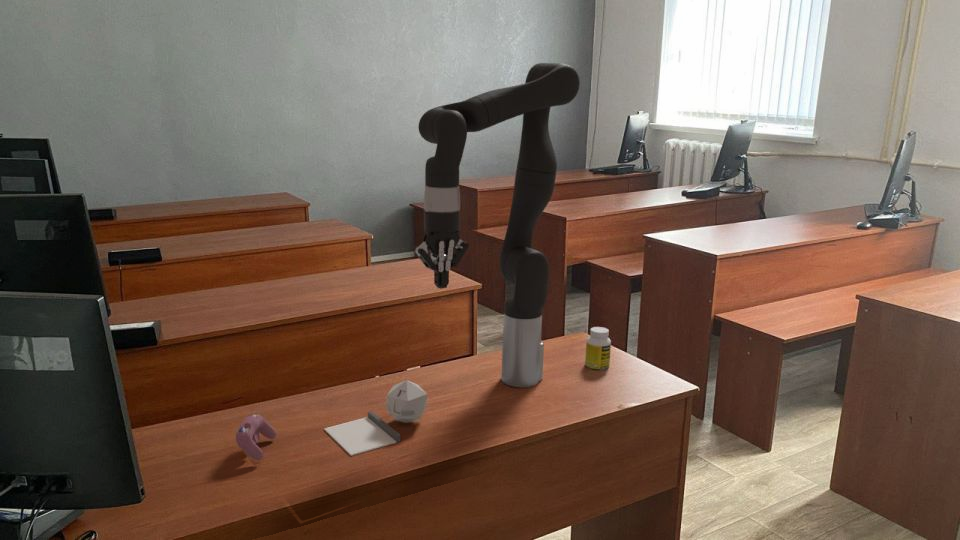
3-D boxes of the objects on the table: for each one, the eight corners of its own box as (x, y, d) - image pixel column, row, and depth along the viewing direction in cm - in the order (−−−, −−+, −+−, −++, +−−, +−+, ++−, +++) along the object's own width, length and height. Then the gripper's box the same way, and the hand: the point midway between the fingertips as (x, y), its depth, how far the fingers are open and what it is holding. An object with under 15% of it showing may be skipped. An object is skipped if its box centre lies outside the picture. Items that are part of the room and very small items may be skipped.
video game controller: (257, 440, 147) (246, 410, 145) (278, 436, 146) (267, 405, 145) (240, 466, 137) (228, 433, 135) (263, 460, 137) (250, 428, 135)
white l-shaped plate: (371, 417, 157) (371, 410, 156) (400, 441, 147) (400, 434, 146) (324, 429, 151) (324, 423, 150) (351, 456, 140) (350, 449, 140)
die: (378, 427, 153) (377, 383, 150) (401, 410, 160) (401, 368, 158) (412, 436, 149) (412, 391, 146) (434, 419, 157) (434, 376, 154)
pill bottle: (603, 376, 182) (606, 335, 179) (580, 371, 185) (583, 330, 182) (612, 369, 187) (615, 328, 184) (590, 363, 190) (593, 324, 187)
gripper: (458, 202, 157) (457, 279, 161) (405, 207, 149) (405, 287, 154) (478, 207, 151) (476, 287, 155) (424, 212, 143) (424, 296, 148)
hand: (441, 287), depth 154 cm, fingers closed
